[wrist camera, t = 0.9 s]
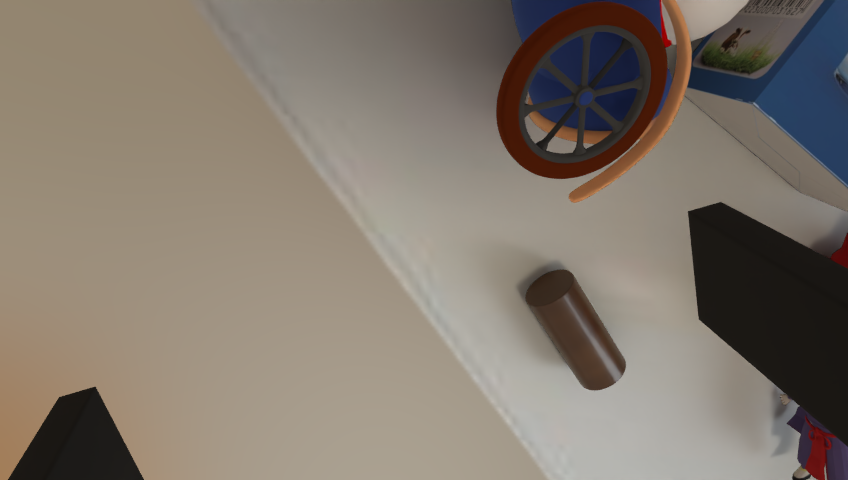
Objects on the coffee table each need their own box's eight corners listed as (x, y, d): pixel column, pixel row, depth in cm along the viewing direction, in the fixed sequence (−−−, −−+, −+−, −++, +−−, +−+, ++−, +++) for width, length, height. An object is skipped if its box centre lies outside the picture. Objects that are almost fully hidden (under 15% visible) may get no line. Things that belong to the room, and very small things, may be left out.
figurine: (736, 480, 40) (734, 252, 35) (840, 427, 42) (853, 206, 37) (834, 555, 34) (850, 296, 29) (947, 489, 37) (981, 239, 31)
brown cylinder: (518, 291, 34) (536, 313, 31) (560, 262, 34) (582, 282, 31) (571, 372, 36) (592, 398, 34) (611, 345, 36) (635, 369, 34)
